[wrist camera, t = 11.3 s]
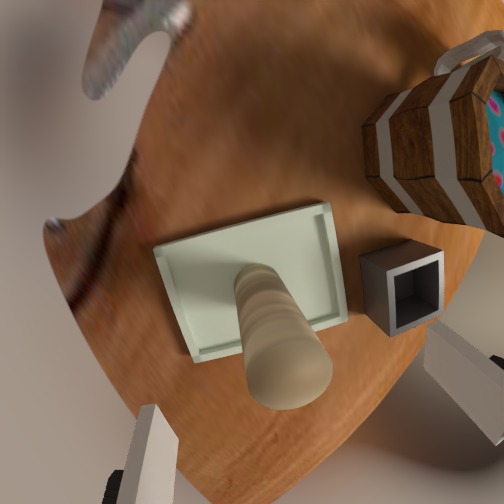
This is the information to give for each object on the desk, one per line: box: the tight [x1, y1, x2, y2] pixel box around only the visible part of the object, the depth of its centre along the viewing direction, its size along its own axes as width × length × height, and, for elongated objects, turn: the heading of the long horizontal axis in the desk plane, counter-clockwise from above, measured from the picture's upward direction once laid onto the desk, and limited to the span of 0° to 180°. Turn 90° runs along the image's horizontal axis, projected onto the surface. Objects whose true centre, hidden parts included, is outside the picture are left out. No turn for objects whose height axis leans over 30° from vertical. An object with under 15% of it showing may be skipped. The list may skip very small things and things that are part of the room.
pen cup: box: [359, 239, 444, 338], centre depth 27 cm, size 7×7×6 cm
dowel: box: [234, 264, 333, 410], centre depth 21 cm, size 4×4×14 cm
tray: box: [153, 202, 349, 363], centre depth 27 cm, size 12×16×1 cm
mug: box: [361, 30, 504, 238], centre depth 19 cm, size 20×14×15 cm
